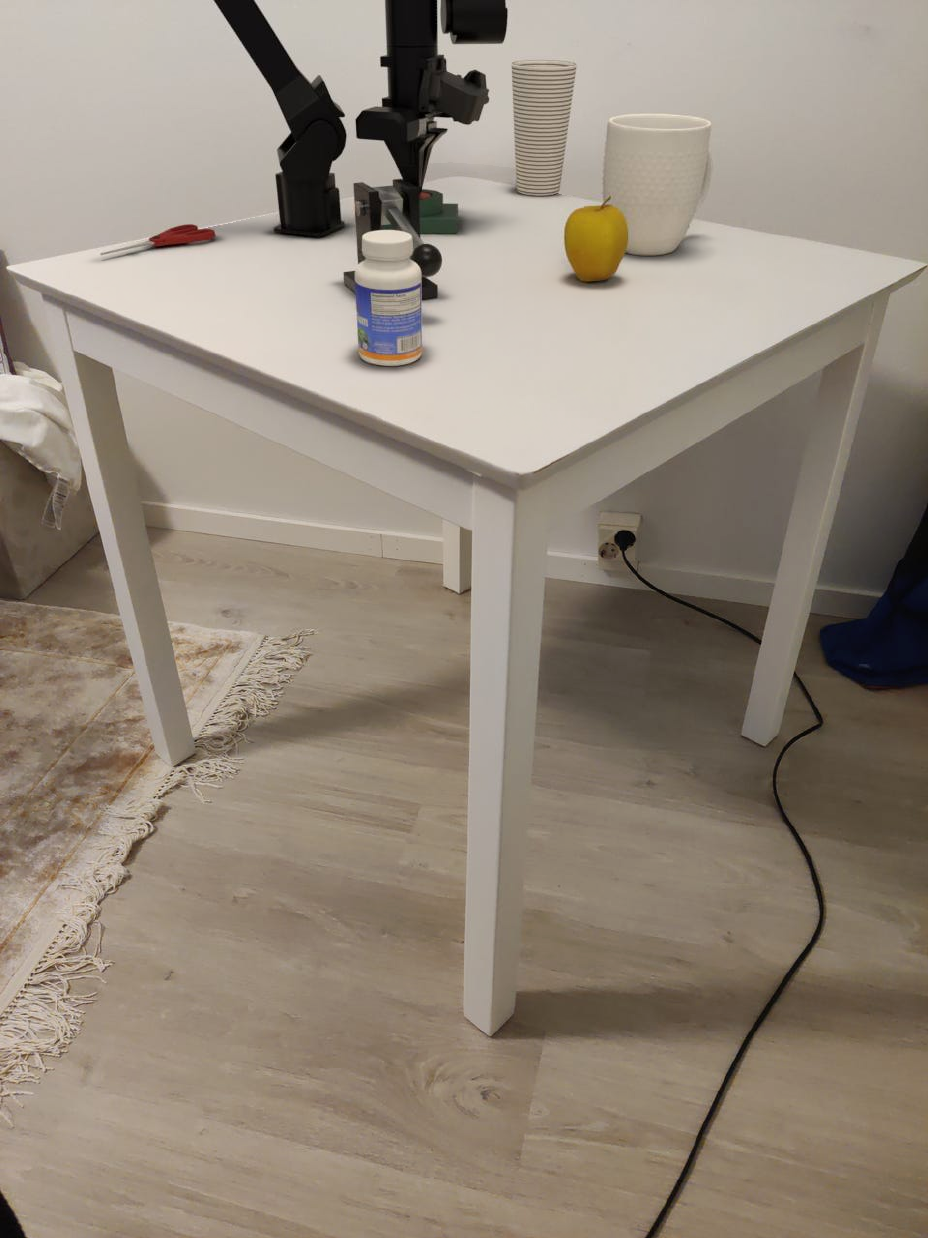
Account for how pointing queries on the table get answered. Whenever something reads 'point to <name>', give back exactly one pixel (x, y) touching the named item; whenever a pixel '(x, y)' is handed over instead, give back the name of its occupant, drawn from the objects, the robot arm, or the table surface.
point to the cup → (541, 122)
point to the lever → (407, 230)
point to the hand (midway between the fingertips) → (415, 195)
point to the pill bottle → (388, 299)
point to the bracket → (370, 221)
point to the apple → (595, 241)
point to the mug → (656, 176)
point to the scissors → (174, 237)
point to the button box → (435, 215)
